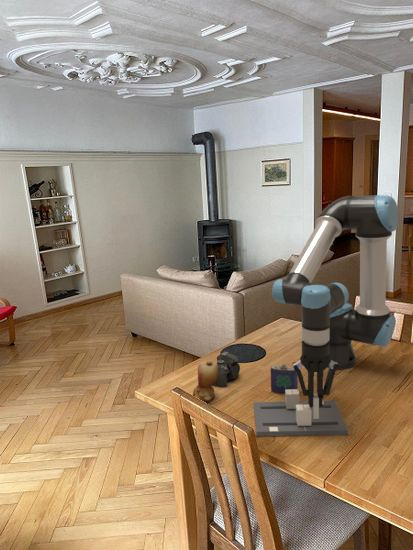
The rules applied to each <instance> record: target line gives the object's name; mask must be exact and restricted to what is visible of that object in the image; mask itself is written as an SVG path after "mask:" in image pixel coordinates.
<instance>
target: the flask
mask: <svg viewBox="0 0 413 550" xmlns="http://www.w3.org/2000/svg"><path fill="white" fill-rule="evenodd" d="M286 365H287V363H286V362H283V363H282V364H281V365H280V366H279V365H276V364H275V365H272V366H271V367H270V388H271V390H270V391H271V392H272V393H274V394H283V395H285V390H289V389H298V390H299V385H298V384H299V379H298V375H297V372H296V371H295V370H294V368H293V366H292V367H291V366H289V367H287V366H286Z"/></svg>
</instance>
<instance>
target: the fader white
mask: <svg viewBox="0 0 413 550" xmlns="http://www.w3.org/2000/svg"><path fill="white" fill-rule="evenodd" d="M296 422H297V426H311V407H310V406H309V405H296Z"/></svg>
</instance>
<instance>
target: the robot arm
mask: <svg viewBox="0 0 413 550" xmlns="http://www.w3.org/2000/svg"><path fill="white" fill-rule="evenodd" d="M397 204H398V203H397V201H396V200H395V199H394V197H392V196H390V195H381V194H377V195H375V194H374V195H373V194H372V195H370V194H369V195H347V196H343V197H340V198H338V199H336V200H334V201H333V202H331V203H330V204H329V205H327V206H326V207H325V208H324V209H323V210H322V211H321V212H320V213H319V215H318V216H317V217H316V220H315V223H314V225H315V228H314V230H313V231H312V233H311V235H310V236H309V238H308V239H307V241H306V243H305V245H304V247H303V248H302V250H301V252H300V254H299V255H298V257H297V259H296V260H295V263H294V265H293V266H292V268H291V269H290V271H289V273H288V275H287V276H286V278H279V279H277V280H275V281H274V283H273V285H272V288H271V294H272V295H271V296H272V298H273V300H274V301H275V302H277V303H281V304H284V305H291V306H298V307H301V340H302V341H301V355H300V358H299V360H298V361H297V362H292V367H293V368H294V370H295V371H296V372H297V375H298V383H299V385H300V386H299V387H300V389H301V392H302V395H303V396H304V397H307V401H308V404H309V406H310V407H312V416H313V418H314V419H319V407H322V400H323V399H324V397H325V396H329V395H330V393H331V389H332V385H333V382H334V378H335V374H336V372H337V371H338V370H346V369H349V368H352V367H354V366H355V365H356V363H357V362H356V361H357V356H356V354H355V350H354V348H353V344H352V342H356V343H357V342H358V343H362V344H368V345H372V346H377V347H386V346H387V345H389V344H390V342H391V339H392V338H393V335H394V333H395V328H396V322H397V318H396V316H395V315H393V314H391V309H390V307H388V306H387V304H386V301H387V300H386V297H387V295H386V294H387V288H386V287H387V254H388V253H387V252H388V251H387V249H388V245H387V243H388V240H389V239H390V237H392V235H393V232H394V231H396V230H398V229H397V228H398V226H399V221H400V216H399V215H400V214H399V207H398V205H397ZM344 230H354V231H355V232H354V233H355V235H354V236H355V237H356V238H357V239H358V240H359V304H358V305H357V306H356V307H355V309H354V308H353V307H354V306H353V305H352V304H351V303H349V297H350V293H349V291H348V288H347V287H346V286H345V285H344V284H343V283H340V282H331V283H328V284H322V283H321V284H320V283H313V280H314V278H315V276H316V274H317V272H318V271H319V269H320V267H321V265H322V263H323V261H324V259H325V258H326V256H327V254H328V252H329V250H330V249H331V248H330V247H332V244H333V243H334V241H335V238H337V237H339V236H340V235H341V234H342V232H343V231H344ZM302 366H303V367H304V368H305V369H306V371H307V387H306V384H305V379H304V377H303V373H302V369H303V367H302ZM326 369H328V370H327V374H326V378H325V381H324V372H325V370H326ZM315 373H316V393H314V391H315V386H314V385H315V384H314V383H315V378H314V377H315Z"/></svg>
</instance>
